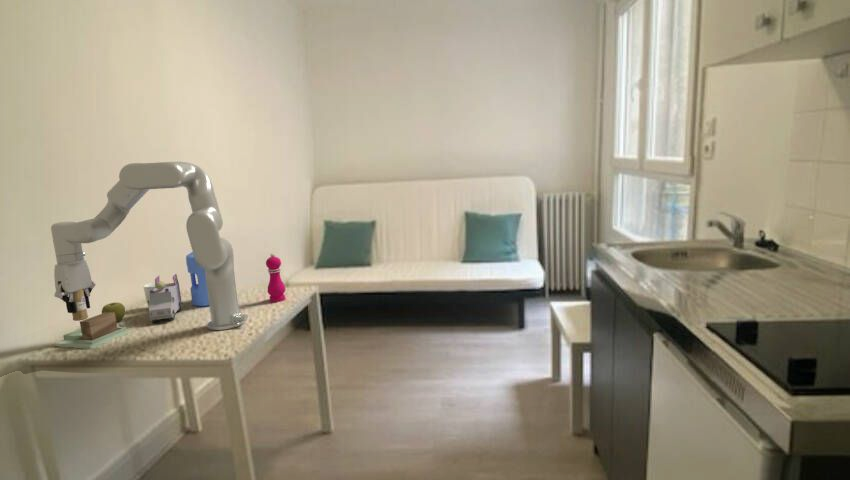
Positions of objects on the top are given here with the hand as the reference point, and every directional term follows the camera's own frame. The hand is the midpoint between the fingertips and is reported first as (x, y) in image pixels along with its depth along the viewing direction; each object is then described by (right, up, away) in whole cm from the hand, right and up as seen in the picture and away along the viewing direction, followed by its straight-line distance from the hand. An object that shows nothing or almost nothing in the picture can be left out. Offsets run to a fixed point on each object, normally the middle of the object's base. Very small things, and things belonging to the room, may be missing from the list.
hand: (79, 309), depth 172 cm
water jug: (+28, -2, +41) cm, 50 cm away
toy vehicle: (+18, -6, +23) cm, 30 cm away
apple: (0, -8, +20) cm, 22 cm away
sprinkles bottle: (0, -3, +1) cm, 4 cm away
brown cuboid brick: (+8, -9, 0) cm, 12 cm away
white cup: (+7, -4, +37) cm, 38 cm away
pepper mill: (+57, -1, +37) cm, 68 cm away
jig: (+4, -10, +1) cm, 11 cm away
